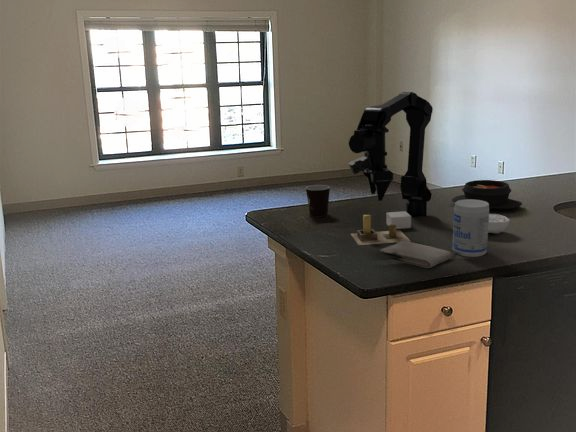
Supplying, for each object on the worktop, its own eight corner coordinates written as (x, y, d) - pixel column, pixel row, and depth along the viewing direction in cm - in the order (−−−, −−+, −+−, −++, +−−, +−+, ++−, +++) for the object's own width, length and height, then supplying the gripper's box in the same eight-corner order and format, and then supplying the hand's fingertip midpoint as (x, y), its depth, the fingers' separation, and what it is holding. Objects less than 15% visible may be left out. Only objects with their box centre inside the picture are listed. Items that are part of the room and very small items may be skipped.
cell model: (501, 240, 192) (502, 218, 191) (464, 233, 200) (464, 213, 198) (514, 231, 200) (515, 211, 198) (478, 226, 207) (478, 206, 206)
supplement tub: (446, 254, 182) (447, 204, 178) (461, 245, 189) (462, 197, 185) (478, 260, 176) (480, 208, 172) (492, 251, 183) (494, 201, 179)
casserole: (530, 205, 229) (531, 182, 227) (508, 217, 216) (509, 193, 214) (466, 197, 245) (466, 175, 243) (442, 207, 232) (442, 185, 230)
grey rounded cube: (405, 225, 211) (405, 211, 210) (411, 231, 205) (411, 216, 204) (386, 227, 211) (386, 212, 209) (391, 232, 205) (391, 217, 203)
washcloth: (400, 247, 191) (400, 237, 190) (453, 259, 179) (454, 248, 178) (376, 257, 183) (376, 247, 182) (430, 270, 171) (430, 259, 170)
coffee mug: (328, 217, 226) (328, 190, 223) (304, 217, 227) (303, 190, 225) (333, 209, 237) (332, 183, 234) (310, 209, 238) (309, 183, 236)
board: (399, 233, 203) (399, 219, 202) (410, 244, 192) (410, 229, 190) (350, 237, 202) (350, 223, 200) (358, 248, 190) (358, 233, 189)
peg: (369, 236, 197) (369, 214, 195) (371, 238, 195) (371, 216, 193) (362, 236, 197) (362, 214, 195) (363, 238, 195) (364, 216, 193)
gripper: (344, 145, 205) (345, 192, 209) (356, 154, 187) (357, 206, 191) (378, 143, 206) (378, 190, 210) (393, 152, 188) (393, 203, 192)
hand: (376, 197), depth 201 cm, fingers open, 9 cm apart
